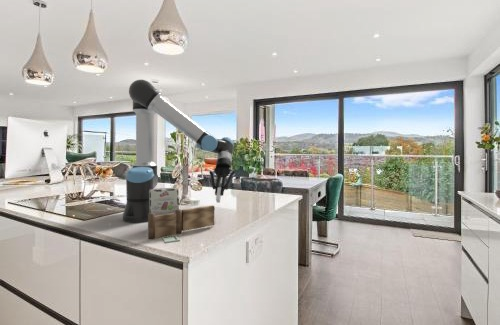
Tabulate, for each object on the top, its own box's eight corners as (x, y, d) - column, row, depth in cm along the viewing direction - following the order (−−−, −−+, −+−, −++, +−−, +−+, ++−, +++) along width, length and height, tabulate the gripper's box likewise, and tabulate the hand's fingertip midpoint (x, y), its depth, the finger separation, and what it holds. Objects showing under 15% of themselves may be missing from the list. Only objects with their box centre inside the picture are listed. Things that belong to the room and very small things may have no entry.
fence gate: (183, 231, 108) (183, 210, 108) (181, 229, 109) (181, 209, 109) (214, 225, 117) (214, 206, 116) (212, 224, 118) (212, 205, 118)
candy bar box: (177, 225, 118) (177, 187, 118) (179, 228, 114) (179, 188, 113) (149, 228, 114) (148, 188, 113) (150, 231, 109) (149, 190, 109)
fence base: (180, 232, 109) (180, 209, 109) (182, 233, 108) (182, 210, 107) (147, 238, 101) (147, 213, 101) (149, 240, 99) (149, 214, 99)
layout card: (161, 238, 102) (161, 236, 102) (175, 236, 104) (175, 234, 104) (165, 243, 96) (165, 241, 96) (179, 240, 99) (179, 239, 99)
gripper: (237, 167, 146) (233, 205, 130) (212, 166, 147) (205, 205, 131) (235, 157, 140) (231, 196, 125) (210, 157, 141) (202, 195, 126)
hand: (217, 200), depth 128 cm, fingers closed
